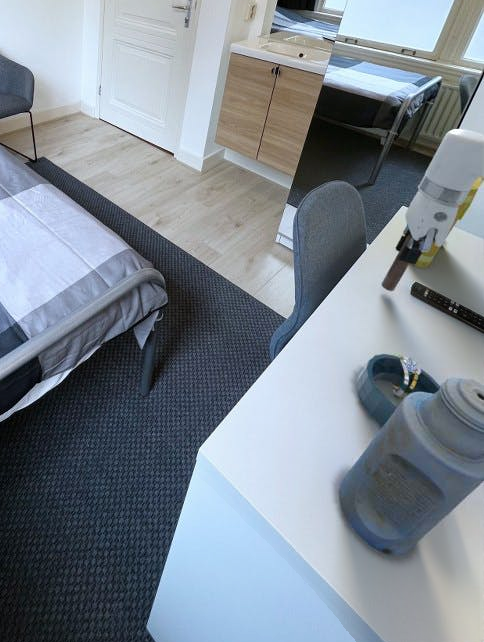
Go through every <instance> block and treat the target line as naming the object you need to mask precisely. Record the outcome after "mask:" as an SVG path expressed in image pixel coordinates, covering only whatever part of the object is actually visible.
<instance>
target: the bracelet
mask: <svg viewBox="0 0 484 642" xmlns="http://www.w3.org/2000/svg"><path fill="white" fill-rule="evenodd" d="M397 357H399V358H400V362H401V365H402V367H403V371H404V382H403V385H402V387H400V389H399V385H397V384H395V383H393V382H392V387H393V388H392V394H393V395H394V396H396V397H398V398H400V399H404V398H405V397H406V396H408V395H409V394H410V392H411V391H412V389H413V388H414V386H415V384H416V382H417V379H418V374H420V373H421V369H422V368H421V366H420V364H419V363H418V362H417V361H415V360H414V359H413V357H412V356H406V357H404V356H402V355H400V354H399V355H398V356H397ZM415 370H416V371H415ZM408 373H409V374H410V375H411V374H412V376H411V381H410V383H409V385H408V381H409V375H408ZM407 385H408V387H407ZM394 388H395V389H394Z"/></svg>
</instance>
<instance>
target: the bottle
mask: <svg viewBox="0 0 484 642" xmlns="http://www.w3.org/2000/svg"><path fill="white" fill-rule="evenodd" d="M396 407H397V409H396V410H395V411H394V413H393V414H392V415H391V417H390V418H389V419H388V421H387V422H386V423H385V425H384V426H382V427H381V428H380V430H379V431H378V432H377V434H376V435H375V436H374V438H373V439H372V440H371V442H370V443H369V444H368V446H367V447H366V449H365V450H364V451H363V453H362V454H361V455H360V456H359V458H358V459H357V460H356V461H355V463H354V464H353V465H352V467H351V468H350V469H349V470H348V471H347V473H346V475H345V476H344V477H343V479H341V482H340V484H339V488H338V499H339V503H340V506H341V508H342V512H343V513H344V517H345V518H346V520H347V522H348V523H349V525H350V526H351V527H352V529H353V530H354V531H355V533H356V534H357V535H358V536H359V537H360V538H361V539H362V540H363V541H364V542H365V543H367V544H368V545H369V546H370V547H372V548H373V549H375V550H377V551H378V552H381V553H383V554H385V555H388V556H402V555H405V554H407V552H409V551H410V550H411V549H412V548H413V547H414V546H416V545H417V543H418V542H420V541H421V540H422V539H423V538H424V537H425V536H426V535H427V534H428V533H429V532H430V531H432V530H433V529H434V528H435V527H436V526H437V525H438V524H440V522H441V521H443V520H444V519H445V518H446V517H447V516H448V515H449V514H450V513H451V512H452V511H453V510H455V509H456V508H457V507H458V506H459V505H460V504H461V503H462V502H463V501H464V500H465V499H466V498H467V497H468V496H470V495H471V494H472V493H473V492H474V491H475V490H476V489H477V488H478V487H480V486H481V485H482V483H484V384H482V383H481V382H478V381H477V380H474V379H470V378H469V379H468V378H464V377H457V376H456V377H450V378H447V379H446V380H444V381H443V382H442V383H441V385H440V389H439V391H437V392H436V393H434V394H431V393H426V392H414V393H411V394H410V393H409V394H408V395H407V396H405V397H403V398H402V401H401V402H400V403H399V405H398V406H396Z"/></svg>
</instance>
